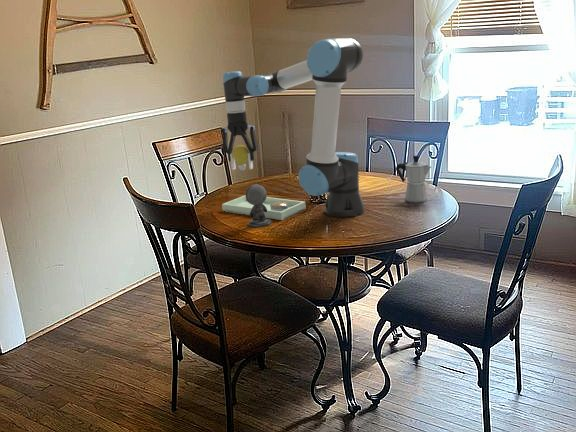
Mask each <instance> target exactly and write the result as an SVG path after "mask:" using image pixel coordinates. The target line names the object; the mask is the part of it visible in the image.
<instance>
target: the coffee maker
mask: <svg viewBox="0 0 576 432" xmlns="http://www.w3.org/2000/svg"><path fill="white" fill-rule="evenodd" d="M419 156H420V155H413V156H412V157H413V158H412V159H413V161H412V162H408V161H405V162H402V163H401V162H400V163H397V165H396V167H395V171H396V172H397V174H398V176H399V177H400V180H401V181H402V183H404V182H405V181H406V180H407V182H408V183H407V184H406V192H405V196H404V197H405V198H404V200H405V201H406V202H407V203H414V204H415V203H416V204H418V203H424V202H427V201H428V196H427V189H426V184H425V183H424V182H425V180H426V176H427V174H428V173H429V171H430V169H432V166H429V164H428V163H425V162H422V161H419V158H420V157H419ZM400 169H401V170H403V171H405V172H406V178H407V179H406V178H405V177H404V175H403V174H402V172H401V170H400Z"/></svg>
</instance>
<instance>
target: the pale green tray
mask: <svg viewBox="0 0 576 432" xmlns="http://www.w3.org/2000/svg"><path fill="white" fill-rule="evenodd" d="M274 202H286V203H288V209H286V210H283V211H273V210H271V208H270V205H271V204H272V203H274ZM262 204H263V205H264V206H265V207H266V208H267V212H264V213H265V218H266V219H270V220H271V219H272V220H277V221H278V220H279V221H283V220H285V219H287V218H290V217H292V216H294V215H297V214H298V213H300V212H303V211H304V210H306V209H307V207H306V201H301V200H294V199H286V198H280V197H279V198H278V197H269V196H267V197H266V200H265V201H264V202H263V203H262ZM221 206H222V207H221V208H222V212H224V211H225V212H226V213H232V214H240V215H244V214H245V215H244V216H250V212H251V209H252V207H253V206H254V205H252V204H250V203H248V201H247V200H246V194H244V195H242V196H239V197H237V198H235V199H231V200H229V201H227V202H223V203H222V204H221ZM225 212H224V213H225Z"/></svg>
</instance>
